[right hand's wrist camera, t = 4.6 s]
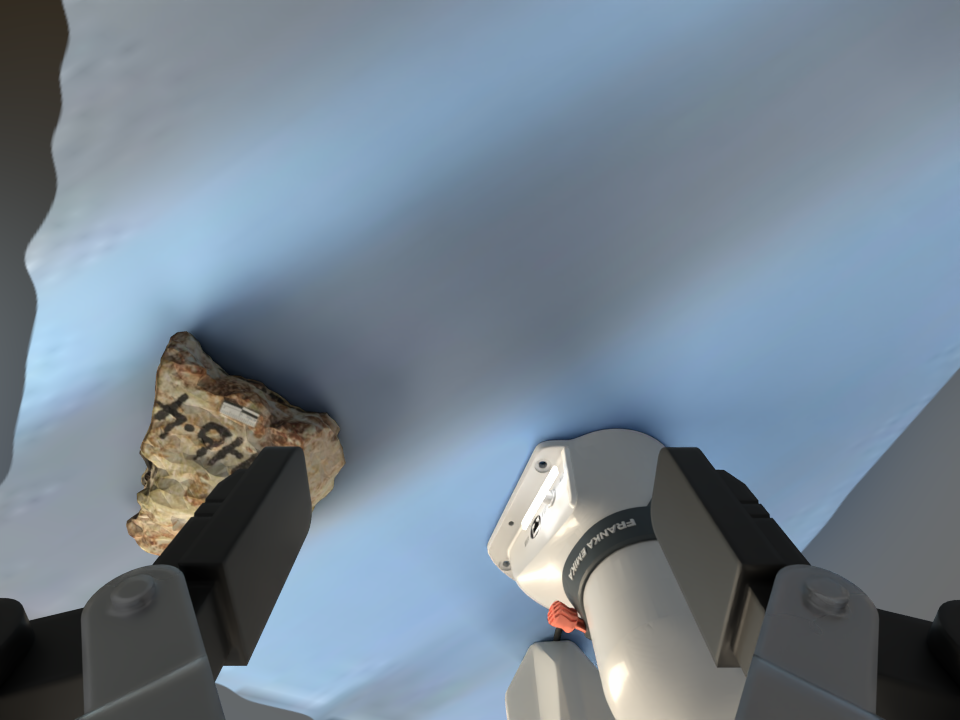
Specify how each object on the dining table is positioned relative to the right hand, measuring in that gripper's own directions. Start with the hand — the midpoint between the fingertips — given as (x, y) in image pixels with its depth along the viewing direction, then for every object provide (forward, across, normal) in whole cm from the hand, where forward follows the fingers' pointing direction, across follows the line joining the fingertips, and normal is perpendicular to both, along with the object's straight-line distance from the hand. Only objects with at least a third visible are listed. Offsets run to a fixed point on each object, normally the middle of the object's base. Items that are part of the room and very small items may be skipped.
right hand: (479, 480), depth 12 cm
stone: (+35, +25, +23) cm, 49 cm away
